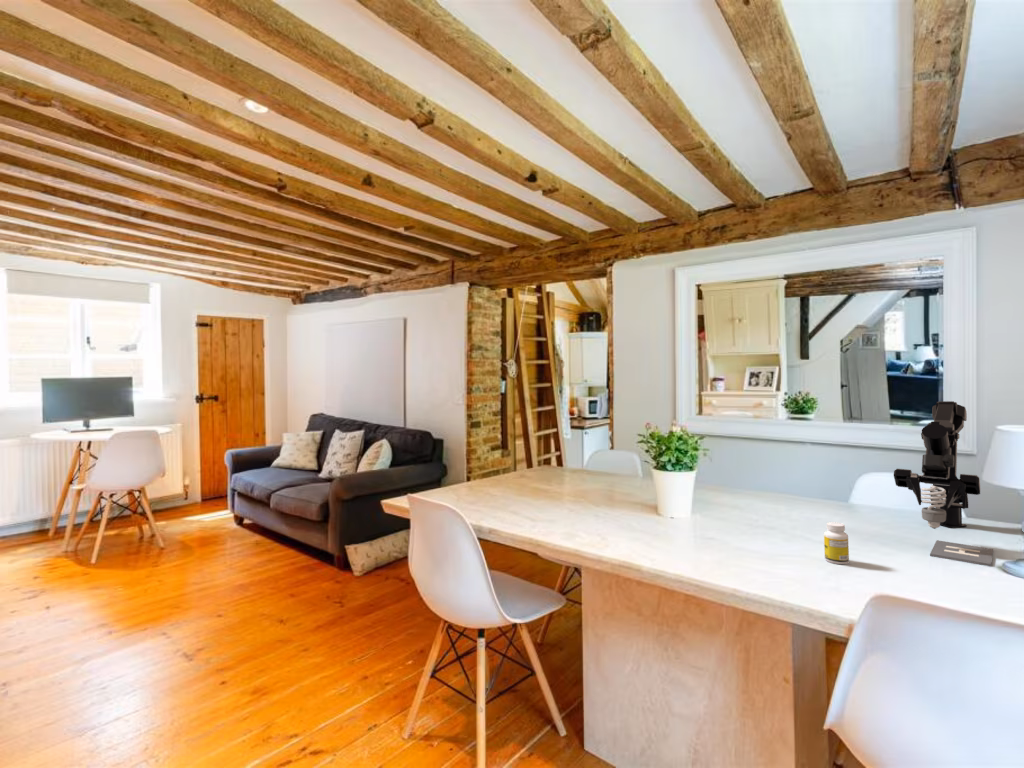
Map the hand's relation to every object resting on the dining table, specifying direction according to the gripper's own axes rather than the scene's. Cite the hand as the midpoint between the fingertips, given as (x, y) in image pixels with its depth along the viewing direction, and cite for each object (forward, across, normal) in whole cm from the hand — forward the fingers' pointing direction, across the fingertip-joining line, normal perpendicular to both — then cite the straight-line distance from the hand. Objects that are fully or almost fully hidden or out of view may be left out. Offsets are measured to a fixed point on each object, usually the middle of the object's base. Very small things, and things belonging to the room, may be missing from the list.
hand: (933, 505), depth 143 cm
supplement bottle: (+28, -17, -11) cm, 35 cm away
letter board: (+8, +6, +10) cm, 14 cm away
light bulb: (+4, 0, +6) cm, 7 cm away
